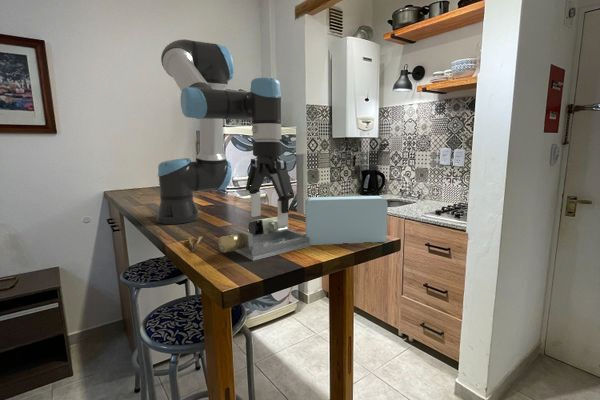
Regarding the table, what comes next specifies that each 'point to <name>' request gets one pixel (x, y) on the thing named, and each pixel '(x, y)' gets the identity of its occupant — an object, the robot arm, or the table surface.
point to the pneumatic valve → (266, 226)
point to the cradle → (263, 243)
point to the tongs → (195, 244)
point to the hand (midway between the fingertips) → (268, 220)
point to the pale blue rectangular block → (346, 219)
